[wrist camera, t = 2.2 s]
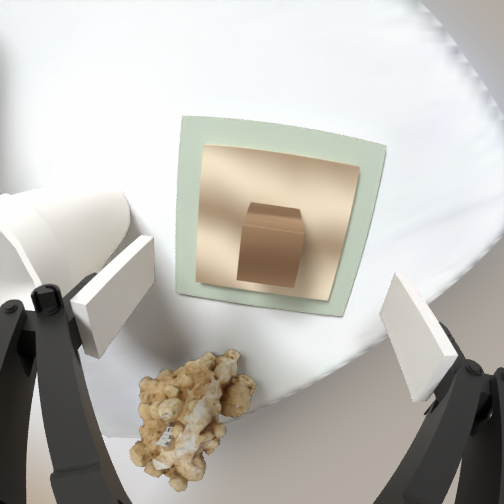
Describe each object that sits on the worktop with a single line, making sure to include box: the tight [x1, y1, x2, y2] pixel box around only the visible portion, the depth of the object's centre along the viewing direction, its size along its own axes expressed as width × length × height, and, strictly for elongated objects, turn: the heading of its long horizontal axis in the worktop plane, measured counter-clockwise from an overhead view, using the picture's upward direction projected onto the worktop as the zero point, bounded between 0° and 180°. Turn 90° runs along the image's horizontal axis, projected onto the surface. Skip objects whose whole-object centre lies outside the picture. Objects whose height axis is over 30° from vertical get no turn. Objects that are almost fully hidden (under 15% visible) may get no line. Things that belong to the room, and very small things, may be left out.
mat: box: [176, 116, 387, 316], centre depth 22 cm, size 15×15×1 cm
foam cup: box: [0, 178, 131, 311], centre depth 18 cm, size 10×9×13 cm
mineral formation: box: [130, 349, 256, 492], centre depth 23 cm, size 8×13×15 cm, turn 135°
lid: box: [196, 144, 360, 301], centre depth 19 cm, size 11×11×6 cm
